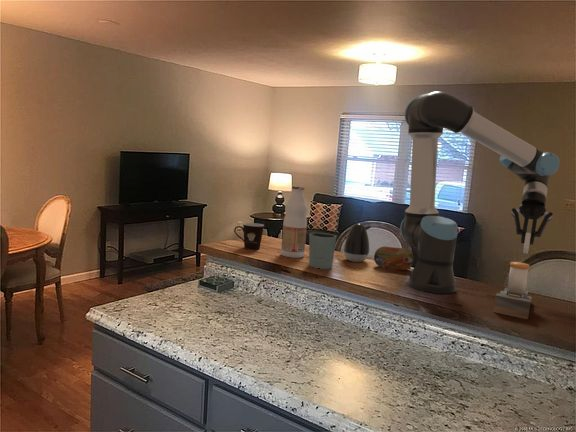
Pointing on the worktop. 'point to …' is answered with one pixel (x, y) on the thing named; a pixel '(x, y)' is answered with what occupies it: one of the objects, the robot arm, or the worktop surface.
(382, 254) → the tin
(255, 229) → the coffee mug
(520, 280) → the knob
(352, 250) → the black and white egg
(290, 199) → the fruit juice
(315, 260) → the green tapered cup
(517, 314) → the knob mount
